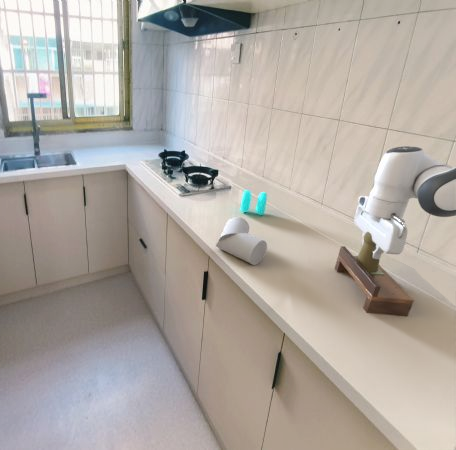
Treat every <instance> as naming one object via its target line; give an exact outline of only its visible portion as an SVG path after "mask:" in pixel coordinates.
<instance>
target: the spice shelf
mask: <svg viewBox="0 0 456 450" xmlns="http://www.w3.org/2000/svg"><path fill="white" fill-rule="evenodd" d="M357 257H358V255H353V254H352V253H351V252H350V250H349V249H348V248H347V247H346V246H343V245H341V246H340V248H339V252H338V256H337V258H336V262H335V266H334V270H335V271H336V272H337V273H346V274H347V273H348V274H349V275H350V276H351V277H352V278H353V279H354V281H355V282H356V283H357V285H358V286H359V287H360V288H361V290H362V291H363V292H364V294H365V295H366V298H365V301H364V305H363V306H362V307H363V310H364V311H365V313H370V314H376V315H377V314H378V315H379V314H380V315H387V316H388V315H389V316H399V317H400V316H401V317H408V316H409V314H410V312H411V309H412V307H413V304H414V302H415V300H414V298H413V297H412V296H411V295H410V294H409V293H408V292H406V290H405V289H404V288H403V287H402V286H401V285H400V284H399V283H398V282H397V281H396V280H395V279H394V278H393V277H392V276H391V275H390V274H389V273H388V272H387V271H386V270H385V269H384V268H383V267H382V266H381V265H380V264H379V266H378V271H377V272H367V271H366V270H365V269H364V268H363V266H362V265H361V264H360V263H359V262H358V261H357V260H356V259H357Z"/></svg>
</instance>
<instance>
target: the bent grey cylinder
mask: <svg viewBox="0 0 456 450" xmlns="http://www.w3.org/2000/svg"><path fill="white" fill-rule="evenodd" d="M249 232H250V224H249V222H248V221H247V220H246V218H243V217H241V216H234V217H231V218H229V219H228V220H227V222H226V224H225V226H224V228H223V229H222V232H221V234H220V236H219V239H218V241H217V242H216V244H215V247H216V248H217V249H219V250H222V251H224V252H226V253H228V254H230V255H232V256H234V257H236V258H238V259H240V260H242V261H243V262H246V263H248V264H250V265H252V266H257V265H259V264H260V263H261V262H262V261H263V259H264V258H265V256H266V253H267V249H268V243H267V241H266V240H264V239H261V238H259V237H257V236H255V235H253V234H250V233H249Z"/></svg>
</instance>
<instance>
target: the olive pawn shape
mask: <svg viewBox="0 0 456 450" xmlns="http://www.w3.org/2000/svg"><path fill="white" fill-rule="evenodd" d="M364 241H365V242H364V244H363V246H362V245H361V248H360V250H359V253H358V254H357V256H358V257H357V259H356V260H357V261H358V262H359V263H360V264H361V265H362V266H363V268H364V269H365V270H366V271H367V272H377V271H378V266H379V265H380V259H374V258H373V257H372V256H371V254H372V251H375V250H376V244H375V243H374V242H373V241H372V235H371V234H370V233H369V232H366V233H365V235H364Z"/></svg>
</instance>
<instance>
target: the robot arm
mask: <svg viewBox="0 0 456 450" xmlns="http://www.w3.org/2000/svg"><path fill="white" fill-rule="evenodd" d="M373 181H374V183H373V187H372V189H371V190H370V191H369V195H359V196H358V199H357V200H358V201H357V203H358V204H357V207H356V211H355V214H354V219H353V224H354V225H355V227H357V228H358V229H359V230H360V231H361V232H362V234H361V238H362V242H361V247H362V246H363V244H364V242H365V241H364V235H365V233H366V232H369V233H370V234H371V235H372V241H373V242H374V243H375V244H376V250H375V251H372V254H371V256H372V257H373V258H374V259H379V260H380V259H381V257H382V254H384V253H385V254H388V255H400V254H402V253H403V251H404V249H405V245H406V242H407V238H408V228H407V226H406V221H405V220H404V219H403V218H404V215H405V212H406V209H407V207H408V203H409V201H410V200H411V199H417V201H418V204H419V206H420V208H421V209H422V210H423V211H424V212H425V213H427V214H429V215H430V216H431V215H432V216H434V217H438V218H449V217H450V218H451V217H455V216H456V166H455V167H453V166H451V165H449V164H447V163H444V162H442V161H439V160H437V159H436V158H434V157H433V156H431V155H429V154H428V153H427V152H425V151H424V149H423V148H421V147H419V146H409V145H408V146H396V147H392V148H389V150H386V151H385V153H384V154H383V156H382V157H381V159H380V161H379V164H378V167H377V169H376V172H375V175H374V179H373Z"/></svg>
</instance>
